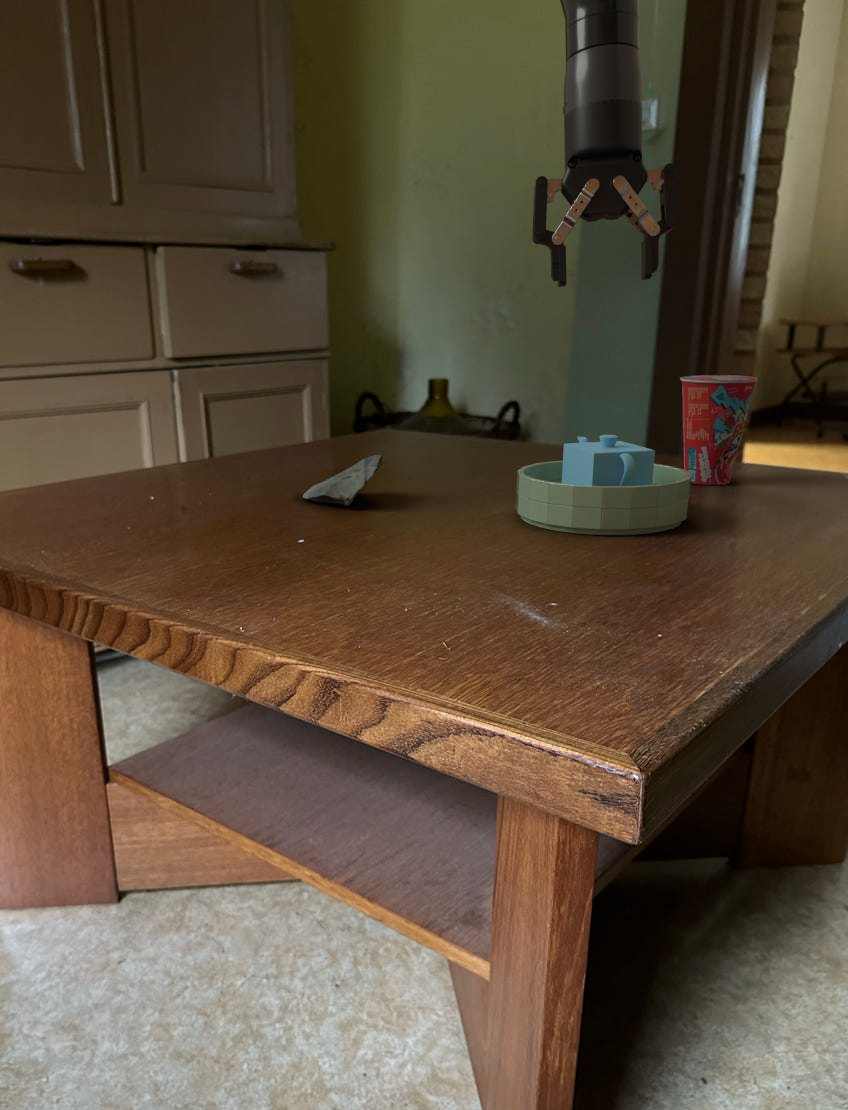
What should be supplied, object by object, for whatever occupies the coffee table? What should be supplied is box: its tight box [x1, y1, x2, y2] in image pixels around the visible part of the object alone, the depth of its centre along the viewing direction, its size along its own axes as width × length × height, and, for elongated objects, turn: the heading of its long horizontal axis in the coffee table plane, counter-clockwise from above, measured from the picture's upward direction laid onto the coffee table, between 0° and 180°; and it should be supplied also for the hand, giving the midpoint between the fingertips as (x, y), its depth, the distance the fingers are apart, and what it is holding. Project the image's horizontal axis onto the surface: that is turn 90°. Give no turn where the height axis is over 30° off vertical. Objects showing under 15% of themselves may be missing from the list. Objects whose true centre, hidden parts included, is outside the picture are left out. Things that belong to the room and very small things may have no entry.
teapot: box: [562, 434, 656, 486], centre depth 89 cm, size 12×6×8 cm, turn 11°
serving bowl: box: [515, 460, 692, 536], centre depth 90 cm, size 16×16×4 cm
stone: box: [302, 454, 384, 507], centre depth 100 cm, size 11×4×10 cm
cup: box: [679, 374, 759, 486], centre depth 107 cm, size 9×8×12 cm
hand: (604, 282), depth 94 cm, fingers open, 8 cm apart
